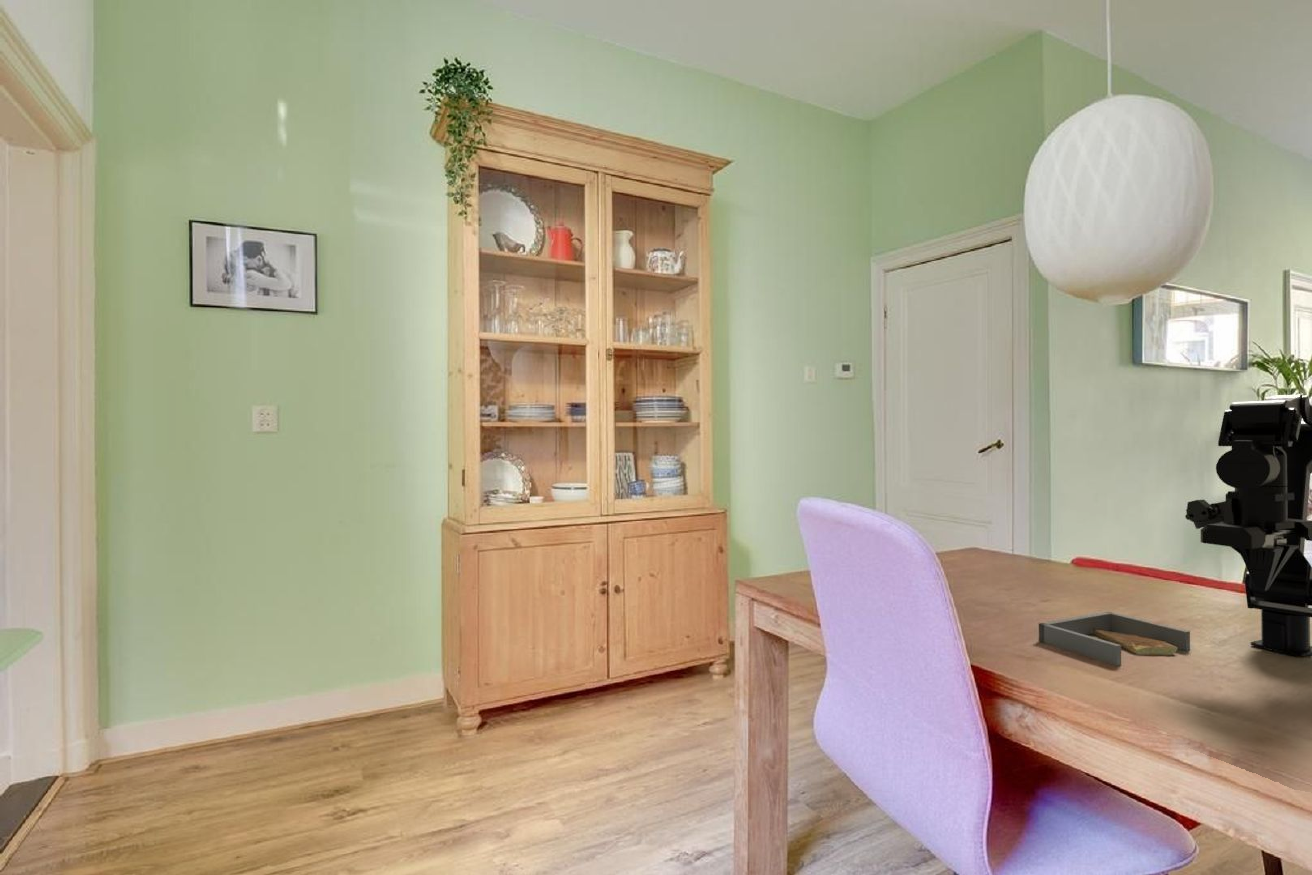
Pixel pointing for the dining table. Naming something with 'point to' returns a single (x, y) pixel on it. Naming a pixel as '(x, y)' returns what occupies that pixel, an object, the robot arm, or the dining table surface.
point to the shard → (1137, 643)
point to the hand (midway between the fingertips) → (1261, 590)
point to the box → (1076, 630)
